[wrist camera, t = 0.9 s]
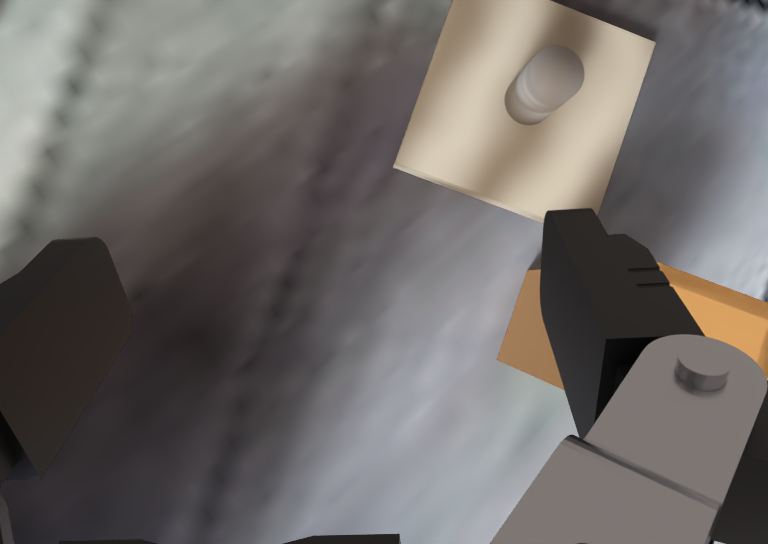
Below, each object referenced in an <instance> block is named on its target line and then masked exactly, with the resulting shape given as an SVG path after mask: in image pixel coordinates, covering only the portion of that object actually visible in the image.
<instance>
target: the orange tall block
mask: <svg viewBox="0 0 768 544" xmlns="http://www.w3.org/2000/svg"><path fill="white" fill-rule="evenodd" d="M657 264H658V265H659V267H660V271H663V273H664V274H665V276H666V277H667V279H668V280H669V282H670V286H673V288H674V289H675V291H676V292H677V294H678V295H679V297H680V298H681V300H682V301H683V303H684V304H685V306H686V307H687V309H688V310H689V312H690V313H691V315H692V317H693V318H694V320H695V321H696V323H697V324H698V326H699V327H700V329H701V330H702V332H703V333H704V335H705V336H706V337H709V338H713V339H717V340H720V341H722V342H725V343H728V344H730V345H732V346H734V347H736V348H738V349H739V350H741V351H743V352H744V353H746V354H747V355H748V356H750V357H751V358H752V359H753V360H754V361H755V362H756V363H757V364H758V365H759V366H760V367H761V369H762V370H763V372H764V374H765V376H766V379H768V303H767V302H764V301H761V300H759V299H756V298H753V297H751V296H748V295H745V294H743V293H740V292H737V291H734V290H732V289H729V288H726V287H724V286H721V285H718V284H716V283H713V282H710V281H708V280H705V279H702V278H699V277H697V276H694V275H691V274H689V273H686V272H683V271H681V270H678V269H675V268H673V267H670V266H667V265H664V264H662V263H659V262H657ZM540 273H541V269H539V270H528V271H527V273H526V276H525V279H524V282H523V285H522V288H521V291H520V294H519V297H518V300H517V302H516V305H515V308H514V311H513V314H512V317H511V320H510V323H509V326H508V329H507V332H506V335H505V338H504V341H503V343H502V346H501V349H500V352H499V355H498V358H497V360H498V361H501V362H503V363H505V364H507V365H510V366H512V367H514V368H516V369H518V370H521V371H523V372H525V373H527V374H530V375H532V376H534V377H536V378H539V379H541V380H543V381H545V382H548V383H550V384H552V385H554V386H557V387H559V388H561V389H563V390H565V389H564V386H563V383H562V380H561V377H560V373H559V370H558V367H557V364H556V361H555V357H554V354H553V351H552V348H551V345H550V341H549V338H548V335H547V332H546V328H545V325H544V322H543V318H542V313H541V306H540Z"/></svg>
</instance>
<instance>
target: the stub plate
mask: <svg viewBox="0 0 768 544" xmlns="http://www.w3.org/2000/svg"><path fill="white" fill-rule="evenodd" d="M655 44H656V42H653V41H651V40H648V39H646V38H643V37H641V36H638V35H636V34H633V33H631V32H628V31H626V30H623V29H621V28H618V27H616V26H613V25H611V24H608V23H606V22H603V21H601V20H598V19H596V18H593V17H591V16H588V15H586V14H583V13H581V12H578V11H576V10H573V9H571V8H568V7H566V6H563V5H561V4H558V3H556V2H553V1H551V0H452V3H451V6H450V9H449V11H448V14H447V17H446V20H445V23H444V25H443V28H442V31H441V34H440V37H439V39H438V42H437V45H436V48H435V51H434V53H433V56H432V59H431V62H430V65H429V68H428V70H427V73H426V76H425V79H424V82H423V84H422V87H421V90H420V93H419V96H418V98H417V101H416V104H415V107H414V110H413V112H412V115H411V118H410V121H409V124H408V126H407V129H406V132H405V135H404V138H403V140H402V143H401V146H400V149H399V152H398V154H397V157H396V160H395V163H394V166H393V168H396V169H399V170H401V171H404V172H407V173H409V174H412V175H415V176H418V177H420V178H423V179H426V180H428V181H431V182H434V183H436V184H439V185H442V186H444V187H447V188H450V189H453V190H455V191H458V192H461V193H463V194H466V195H469V196H471V197H474V198H477V199H480V200H482V201H485V202H488V203H490V204H493V205H496V206H498V207H501V208H504V209H506V210H509V211H512V212H515V213H517V214H520V215H523V216H525V217H528V218H531V219H533V220H536V221H539V222H541V223H544V218H545V214H546V212H547V211H548V210H563V209H579V208H592V209H593V210H594V212H595V214H596V215H597V216H598V213H599V210H600V207H601V204H602V201H603V198H604V195H605V192H606V189H607V186H608V183H609V180H610V177H611V174H612V172H613V169H614V166H615V163H616V160H617V157H618V154H619V151H620V148H621V145H622V142H623V139H624V136H625V133H626V130H627V127H628V124H629V121H630V118H631V115H632V112H633V109H634V106H635V103H636V100H637V97H638V94H639V91H640V88H641V85H642V82H643V79H644V76H645V73H646V70H647V67H648V64H649V62H650V59H651V56H652V53H653V50H654V47H655Z"/></svg>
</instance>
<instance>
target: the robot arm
mask: <svg viewBox="0 0 768 544" xmlns="http://www.w3.org/2000/svg"><path fill="white" fill-rule="evenodd" d="M540 306H541V313H542V318H543V322H544V325H545V328H546V332H547V335H548V338H549V341H550V345H551V348H552V351H553V354H554V357H555V361H556V364H557V367H558V370H559V373H560V377H561V380H562V383H563V386H564V389H565V393H566V396H567V399H568V402H569V405H570V409H571V412H572V415H573V418H574V421H575V425H576V428H577V431H578V434H579V437H580V438H579V437H577V436H575V435H569V436H567V437H566V438H565V439H564V440H563V441H562V442H561V443H560V444H559V445H558V447H557V448H556V449H555V451H554V452H553V454H552V455H551V457H550V458H549V459H548V461H547V462H546V464H545V465H544V467H543V468H542V469H541V471H540V472H539V474H538V475H537V477H536V478H535V480H534V481H533V482H532V484H531V485H530V487H529V488H528V490H527V491H526V492H525V494H524V495H523V497H522V498H521V500H520V501H519V502H518V504H517V505H516V507H515V508H514V510H513V511H512V512H511V514H510V515H509V517H508V518H507V520H506V521H505V523H504V524H503V525H502V527H501V528H500V530H499V531H498V533H497V534H496V535H495V537H494V538H493V540H492V541H491V543H490V544H714V541H717V542H721V543H725V544H768V380H767V379H766V376H765V374H764V372H763V370H762V369H761V367H760V366H759V365H758V364H757V363H756V362H755V361H754V360H753V359H752V358H751V357H750V356H748V355H747V354H746V353H744V352H743V351H741V350H739V349H738V348H736V347H734V346H732V345H730V344H728V343H725V342H722V341H720V340H717V339H713V338H709V337H706V336H705V335H704V333H703V332H702V330H701V329H700V327H699V326H698V324H697V323H696V321H695V320H694V318H693V317H692V315H691V313H690V312H689V310H688V309H687V307H686V306H685V304H684V303H683V301H682V300H681V298H680V297H679V295H678V294H677V292H676V291H675V289H674V288H673V286H670V282H669V280H668V279H667V277H666V276H665V274H664V273H663V271H660V267H659V265H658V264H657V262H656V261H655V259H654V258H653V256H652V255H651V253H650V252H649V250H648V249H647V248H645V247H644V246H642V245H641V244H639V243H638V242H636V241H635V240H633V239H632V238H630V237H628V236H627V235H625V234H617V235H608V234H607V233H606V231H605V229H604V227H603V226H602V224H601V222H600V221H599V219H598V217H597V215H596V214H595V212H594V210H593V209H592V208H579V209H563V210H548V211H547V212H546V214H545V218H544V227H543V242H542V258H541V273H540ZM131 327H132V313H131V308H130V305H129V302H128V300H127V297H126V294H125V292H124V289H123V287H122V284H121V281H120V279H119V276H118V274H117V271H116V268H115V266H114V263H113V261H112V258H111V255H110V253H109V250H108V248H107V246H106V245H105V243H104V242H103V241H102V240H101V239H99V238H97V237H87V238H71V239H56V240H53V241H51V242H50V243H49V244H48V245H47V246H46V247H45V248H44V249H43V250H42V251H41V252H40V253H39V254H38V255H37V256H36V257H35V258H34V259H33V260H32V261H31V262H30V263H29V264H28V265H27V266H26V267H25V268H24V269H23V270H21V271H20V272H19V273H18V274H16V275H14V276H13V277H11V278H9V279H8V280H6V281H4V282H3V283H1V284H0V487H1V486H2V484H3V483H4V481H5V480H22V479H42V477H43V475H44V474H45V472H46V470H47V469H48V467H49V466H50V464H51V462H52V461H53V459H54V458H55V456H56V454H57V453H58V451H59V450H60V448H61V446H62V445H63V443H64V441H65V440H66V438H67V437H68V435H69V433H70V432H71V430H72V429H73V427H74V425H75V424H76V422H77V421H78V419H79V417H80V416H81V414H82V412H83V411H84V409H85V408H86V406H87V404H88V403H89V401H90V400H91V398H92V396H93V395H94V393H95V392H96V390H97V388H98V387H99V385H100V383H101V382H102V380H103V379H104V377H105V375H106V374H107V372H108V371H109V369H110V367H111V366H112V364H113V363H114V361H115V359H116V358H117V356H118V354H119V353H120V351H121V350H122V348H123V346H124V345H125V343H126V342H127V340H128V338H129V335H130V332H131ZM0 544H14V540H13V534H12V529H11V524H10V518H9V513H8V508H7V504H6V501H5V500H4V498H3V497H2V495H1V494H0ZM59 544H156V543H152V542H148V541H144V540H96V541H60V542H59ZM284 544H401V542H400V534H373V535H326V536H311V537H307V538H303V539H299V540H295V541H291V542H287V543H284Z"/></svg>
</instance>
